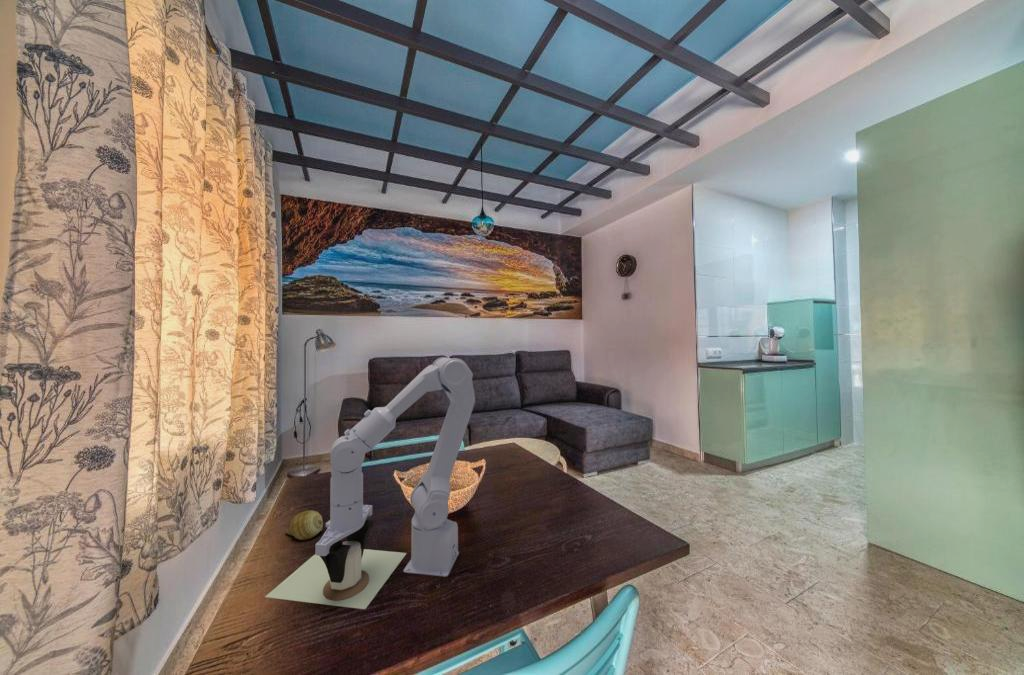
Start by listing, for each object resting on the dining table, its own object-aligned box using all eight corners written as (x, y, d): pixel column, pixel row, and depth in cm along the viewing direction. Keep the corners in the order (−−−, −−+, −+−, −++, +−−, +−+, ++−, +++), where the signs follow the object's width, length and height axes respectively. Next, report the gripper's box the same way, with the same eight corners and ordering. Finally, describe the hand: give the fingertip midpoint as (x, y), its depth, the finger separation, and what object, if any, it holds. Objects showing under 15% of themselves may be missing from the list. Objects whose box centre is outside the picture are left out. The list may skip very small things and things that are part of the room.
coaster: (377, 572, 69) (377, 571, 69) (352, 602, 61) (352, 601, 61) (341, 569, 70) (341, 567, 70) (312, 598, 62) (312, 596, 62)
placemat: (406, 554, 75) (406, 553, 75) (365, 611, 59) (365, 609, 59) (325, 547, 78) (325, 545, 78) (264, 599, 62) (264, 596, 62)
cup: (366, 572, 67) (366, 541, 67) (349, 591, 62) (349, 558, 62) (342, 569, 68) (342, 539, 68) (324, 587, 63) (324, 555, 63)
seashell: (289, 552, 83) (269, 538, 78) (301, 522, 89) (283, 508, 84) (327, 544, 83) (310, 531, 78) (336, 515, 88) (321, 501, 84)
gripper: (351, 483, 73) (350, 546, 73) (299, 517, 59) (299, 596, 59) (381, 485, 72) (381, 549, 72) (336, 520, 58) (336, 600, 58)
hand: (346, 570), depth 65 cm, fingers closed on cup, 5 cm apart
